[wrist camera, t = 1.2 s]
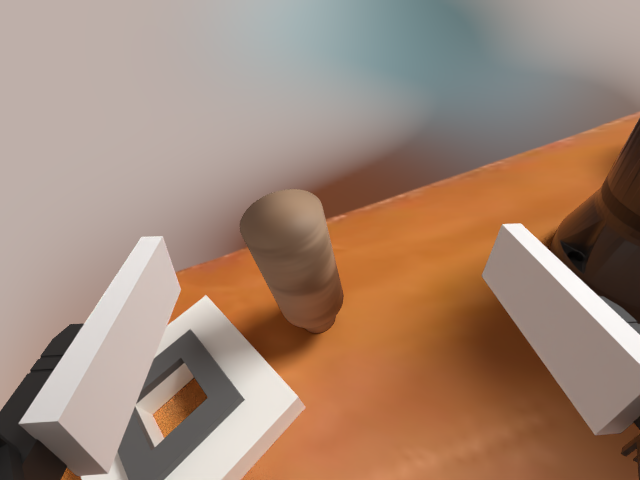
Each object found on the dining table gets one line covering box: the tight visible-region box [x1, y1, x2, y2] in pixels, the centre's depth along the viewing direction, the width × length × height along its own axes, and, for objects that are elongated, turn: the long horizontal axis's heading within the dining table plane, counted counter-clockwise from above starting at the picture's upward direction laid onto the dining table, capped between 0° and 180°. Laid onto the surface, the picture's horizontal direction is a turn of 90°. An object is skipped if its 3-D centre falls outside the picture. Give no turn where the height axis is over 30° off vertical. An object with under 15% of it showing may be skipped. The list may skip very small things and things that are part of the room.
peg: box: [240, 189, 343, 333], centre depth 31 cm, size 7×7×16 cm
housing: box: [81, 295, 306, 480], centre depth 31 cm, size 17×17×4 cm
